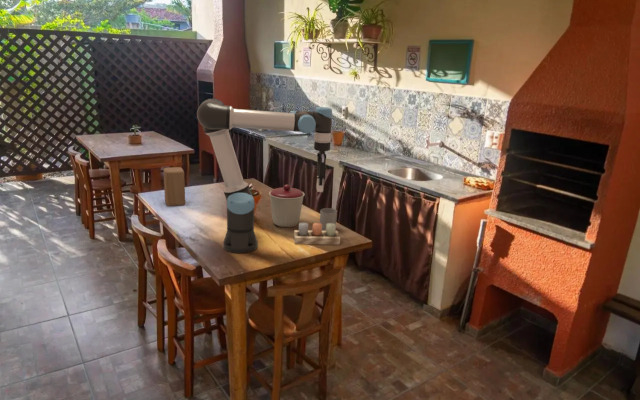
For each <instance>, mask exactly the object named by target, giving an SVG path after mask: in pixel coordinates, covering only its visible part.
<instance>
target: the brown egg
mask: <svg viewBox="0 0 640 400" xmlns="http://www.w3.org/2000/svg"><path fill="white" fill-rule="evenodd" d="M311 230H312V235H314V236H321V235H322V224H321V223H320V222H313V223H312V229H311Z"/></svg>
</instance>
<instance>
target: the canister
mask: <svg viewBox="0 0 640 400" xmlns="http://www.w3.org/2000/svg"><path fill="white" fill-rule="evenodd" d="M268 196H270V198H269V199H270V209H271V217H272V222H273V224H274V225H276V226H278V227H281V228H290V227H296V226H297V225H299V223H300V218H301V214H302V207H303V201H304V197H305V192H304V191H302V190H300V189H298V188H294V187H291V185H290V184H284V185H283V187H277V188H273V189H272V190H270V191H269V192H268Z"/></svg>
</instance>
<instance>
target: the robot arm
mask: <svg viewBox="0 0 640 400" xmlns="http://www.w3.org/2000/svg"><path fill="white" fill-rule="evenodd" d="M196 117H197V121H198V123H199V124H200V126H202V129H203V131H204V134H205V135H207V136H208V137H209V139H210V142H211V145H212V148H213V151H214V154H215V157H216V161H217V164H218V167H219V170H220V174H221V176H222V180H223V182H224V188H223V194H224V197H225V200H226V232H225V236H224V237H223V238H224V239H223V243H222V247H223V249H224V250H225V251H226V252H229V253H233V254H244V253H245V254H246V253H250V252H254V251H255V250H257V248H258V243H259V242H258V239H257V236H256V233H255V229H254V228H255V198H254V196H253V194H252V191H251V188H250V186H249V183H248V182H246V181H244V178H243V177H244V176H243V175H242V171H241V168H240V164H239V161H238V158H237V155H236V152H235V149H234V145H233V142H232V141H233V140H232V138H231V135H230V134H231V133H230V132H229V131H230V130H232V129H233V128H241V129H252V130H253V129H254V130H256V129H257V130H271V131H284V132H285V131H286V132H298V133H299V132H300V133H303V134H305V135H306V134H311V133H312V132H314V138H313V139H314V142H313V149H314V150H315V151H318V152H317V153H316V157H317V158H316V159H317V160H316V162H317V167H316V174H317V176H316V190H317V191H316V192H318V193H324V179H325V174H326V173H325V172H326V160H327V154H326V152H328V151H330V150H331V141H332V137H333V134H332V124H333V109H332V108H331V107H325V106H317V107H316V108H315V111H307V110H306V111H304V110H291V111H289V112H283V111H282V112H279V111H266V110H258V109H257V110H254V109H240V108H233V106H232V105H226V104H224V102H222V101H221V100H220V99H216V98H208V99H205V100H204V101H202V103H200V105H199V107H198V108H197V111H196Z"/></svg>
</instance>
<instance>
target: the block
mask: <svg viewBox="0 0 640 400" xmlns="http://www.w3.org/2000/svg"><path fill="white" fill-rule="evenodd" d="M185 181H186V179H185V171H184V169H183V168H182V167H180V166H177V167H165V168H163V185H164V187H163V188H164V202H165V204H166V206H167V207H173V206H184V205H186V189H185V188H186V187H185V184H186V183H185Z"/></svg>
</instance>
